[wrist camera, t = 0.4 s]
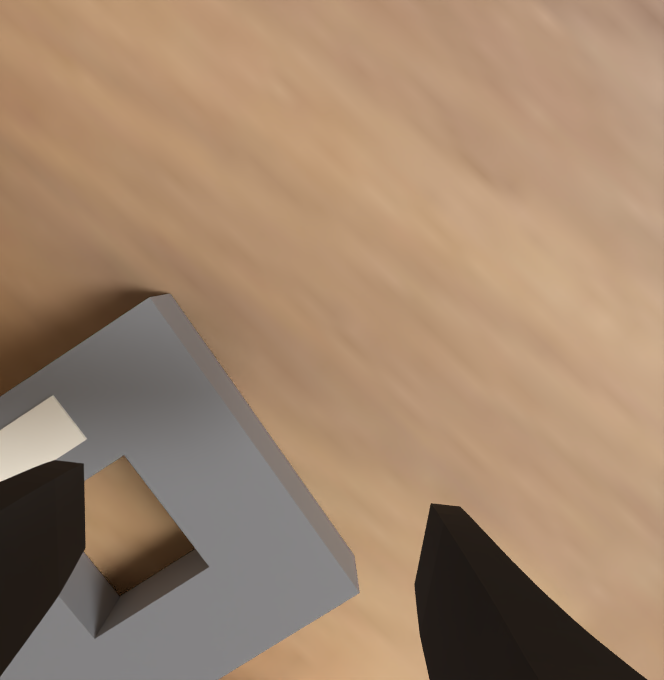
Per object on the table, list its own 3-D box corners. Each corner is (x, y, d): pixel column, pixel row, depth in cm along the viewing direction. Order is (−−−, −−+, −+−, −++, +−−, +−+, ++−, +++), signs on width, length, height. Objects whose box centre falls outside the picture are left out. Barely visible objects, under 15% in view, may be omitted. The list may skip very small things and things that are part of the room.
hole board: (100, 712, 22) (72, 770, 20) (-103, 474, 20) (-163, 504, 18) (354, 555, 22) (360, 594, 19) (170, 293, 20) (148, 297, 17)
